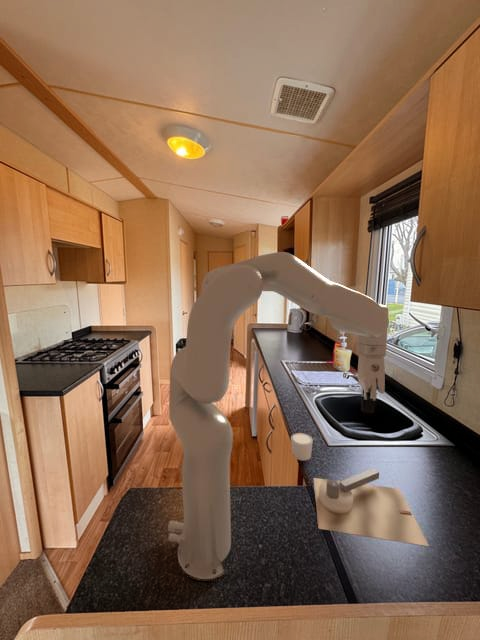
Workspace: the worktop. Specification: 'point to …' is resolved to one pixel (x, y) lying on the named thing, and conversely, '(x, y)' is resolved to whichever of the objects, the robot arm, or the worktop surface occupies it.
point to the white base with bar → (343, 491)
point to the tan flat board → (372, 515)
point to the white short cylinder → (301, 446)
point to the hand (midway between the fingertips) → (367, 411)
